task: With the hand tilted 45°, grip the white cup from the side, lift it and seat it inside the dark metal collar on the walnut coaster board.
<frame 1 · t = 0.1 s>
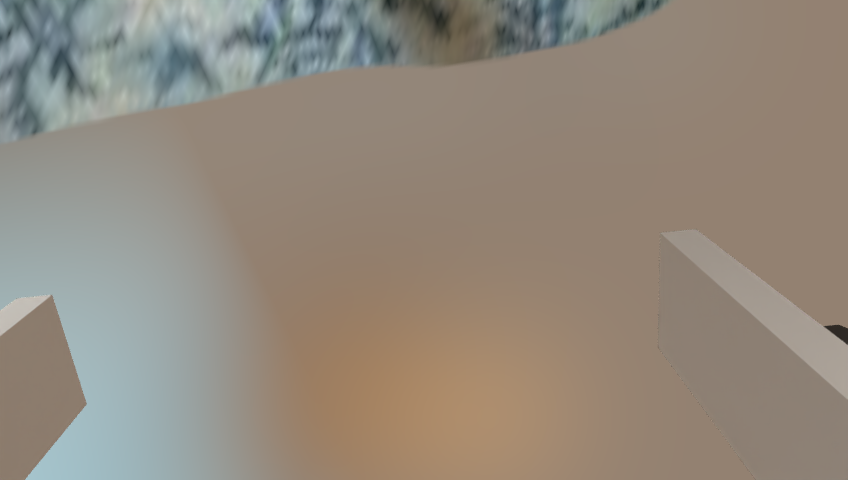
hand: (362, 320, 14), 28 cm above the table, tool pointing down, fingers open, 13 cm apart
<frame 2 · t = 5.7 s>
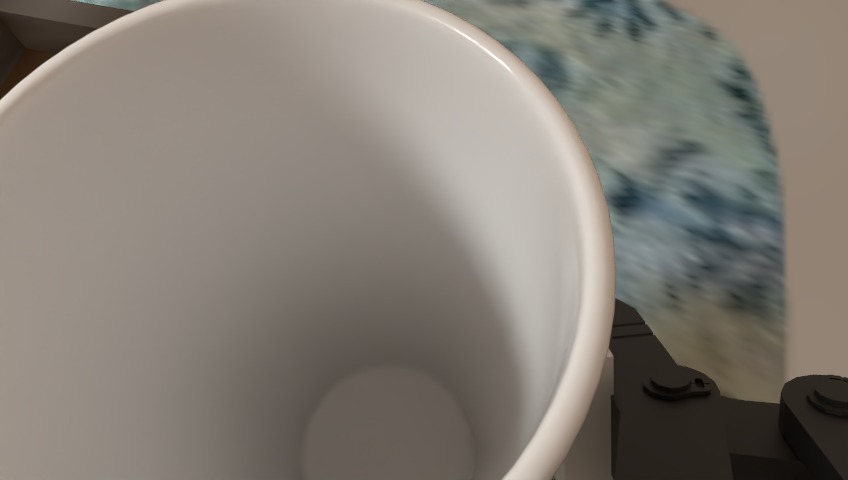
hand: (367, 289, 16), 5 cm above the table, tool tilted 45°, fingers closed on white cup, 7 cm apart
white cup: (394, 459, 20), on the table, touching gripper
collar board: (100, 204, 24), on the table
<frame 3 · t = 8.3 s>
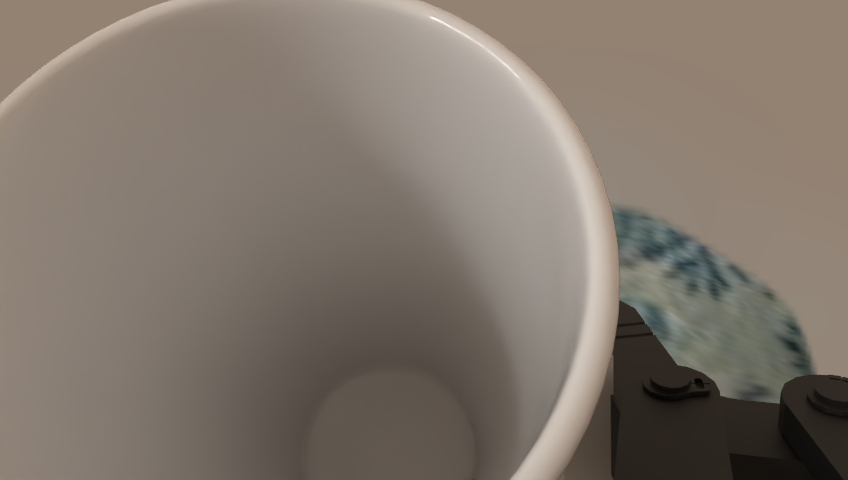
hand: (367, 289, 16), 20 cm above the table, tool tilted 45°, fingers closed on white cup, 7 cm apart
white cup: (395, 460, 20), point 14 cm above the table, touching gripper
when the fingers open (8 cm above the table, at t = 11.3 s): white cup drops 1 cm, resting on collar board.
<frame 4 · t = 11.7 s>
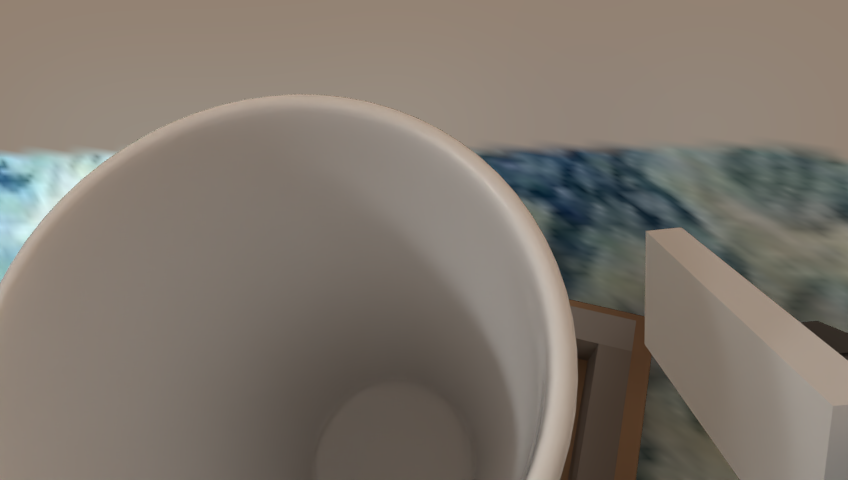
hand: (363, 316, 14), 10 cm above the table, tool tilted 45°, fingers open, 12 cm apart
white cup: (400, 467, 21), point 1 cm above the table, touching collar board
collar board: (406, 478, 22), on the table
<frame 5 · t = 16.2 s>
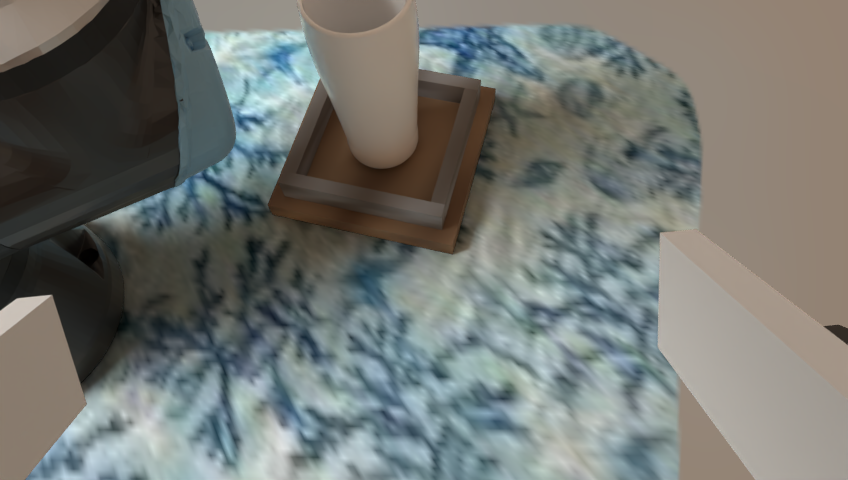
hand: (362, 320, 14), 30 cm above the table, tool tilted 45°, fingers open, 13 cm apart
white cup: (384, 144, 50), point 1 cm above the table, touching collar board
collar board: (387, 155, 51), on the table
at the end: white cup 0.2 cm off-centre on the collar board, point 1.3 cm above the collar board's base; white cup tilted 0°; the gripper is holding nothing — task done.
